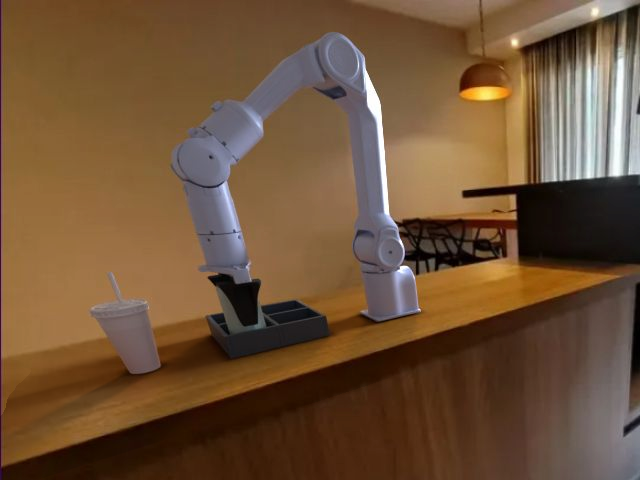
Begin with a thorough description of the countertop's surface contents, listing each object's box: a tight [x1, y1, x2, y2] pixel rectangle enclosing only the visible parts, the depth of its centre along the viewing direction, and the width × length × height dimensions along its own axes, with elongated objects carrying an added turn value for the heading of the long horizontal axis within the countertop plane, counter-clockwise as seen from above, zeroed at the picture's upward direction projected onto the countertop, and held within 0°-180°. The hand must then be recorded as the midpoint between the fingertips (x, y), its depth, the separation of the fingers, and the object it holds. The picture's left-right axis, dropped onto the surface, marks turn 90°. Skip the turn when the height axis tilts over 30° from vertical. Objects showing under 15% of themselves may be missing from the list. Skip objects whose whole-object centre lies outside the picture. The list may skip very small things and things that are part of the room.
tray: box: [205, 299, 331, 360], centre depth 76 cm, size 15×15×4 cm
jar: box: [214, 285, 266, 335], centre depth 70 cm, size 5×5×8 cm
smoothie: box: [88, 271, 162, 375], centre depth 62 cm, size 6×6×14 cm
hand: (245, 321), depth 71 cm, fingers closed on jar, 5 cm apart
